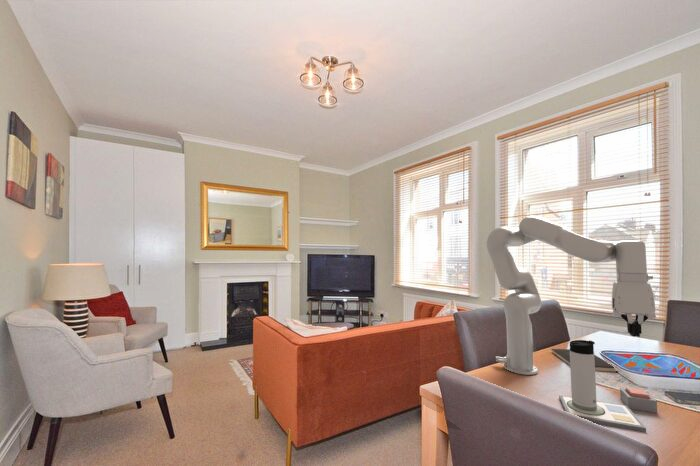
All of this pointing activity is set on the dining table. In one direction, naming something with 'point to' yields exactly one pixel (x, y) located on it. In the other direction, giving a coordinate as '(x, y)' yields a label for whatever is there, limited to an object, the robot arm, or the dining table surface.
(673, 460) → the dining table surface
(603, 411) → the picture board
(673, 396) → the dining table surface
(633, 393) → the button
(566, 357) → the hardcover book
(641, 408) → the button housing
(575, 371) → the travel mug
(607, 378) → the dining table surface
